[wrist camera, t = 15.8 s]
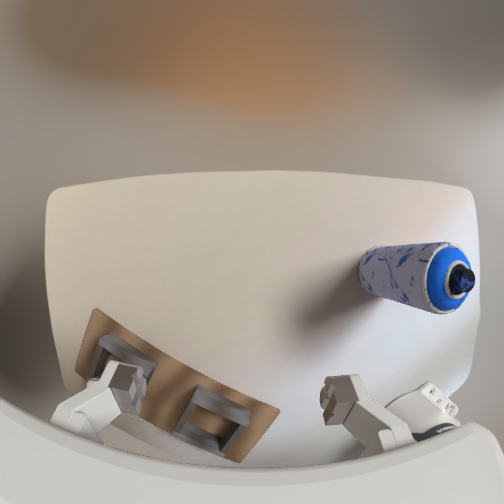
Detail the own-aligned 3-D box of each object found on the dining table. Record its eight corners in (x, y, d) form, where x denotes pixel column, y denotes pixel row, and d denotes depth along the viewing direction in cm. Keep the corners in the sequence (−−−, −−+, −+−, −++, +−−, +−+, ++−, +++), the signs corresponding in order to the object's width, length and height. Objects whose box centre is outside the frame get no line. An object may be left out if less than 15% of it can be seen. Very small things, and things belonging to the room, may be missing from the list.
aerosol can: (406, 255, 39) (497, 254, 19) (392, 302, 39) (477, 330, 19) (367, 238, 39) (451, 224, 19) (351, 287, 39) (428, 313, 19)
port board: (279, 409, 38) (282, 425, 33) (239, 460, 38) (238, 477, 33) (96, 308, 39) (80, 313, 34) (77, 369, 39) (62, 378, 34)
